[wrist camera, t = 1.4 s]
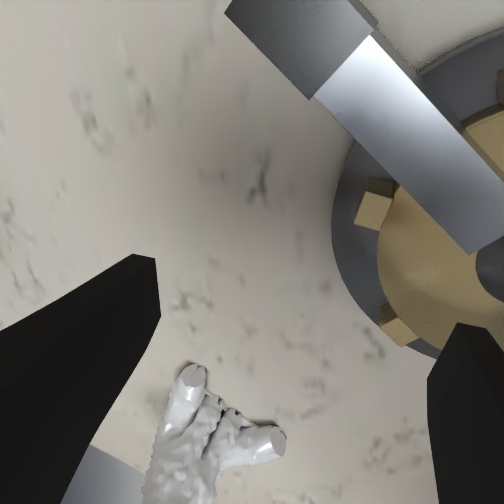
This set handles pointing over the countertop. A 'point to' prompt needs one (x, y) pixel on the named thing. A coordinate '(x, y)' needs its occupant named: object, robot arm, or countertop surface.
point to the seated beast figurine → (202, 444)
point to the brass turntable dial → (402, 164)
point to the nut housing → (365, 165)
